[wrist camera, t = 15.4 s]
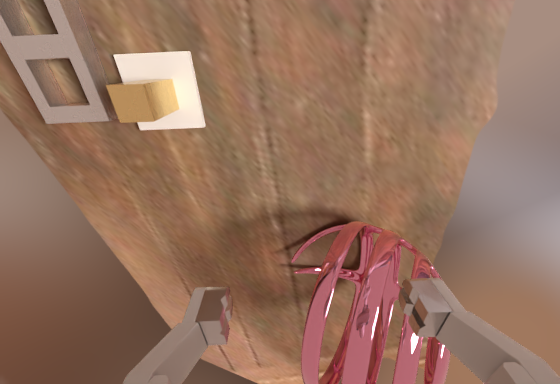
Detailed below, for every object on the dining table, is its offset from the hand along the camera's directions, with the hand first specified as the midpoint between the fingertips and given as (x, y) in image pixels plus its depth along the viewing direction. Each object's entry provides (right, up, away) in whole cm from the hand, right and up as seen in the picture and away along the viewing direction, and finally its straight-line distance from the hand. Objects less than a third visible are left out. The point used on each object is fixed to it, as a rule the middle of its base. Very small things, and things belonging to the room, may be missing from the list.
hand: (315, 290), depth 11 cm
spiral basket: (+13, -8, +39) cm, 42 cm away
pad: (-19, +19, +22) cm, 35 cm away
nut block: (-19, +19, +22) cm, 34 cm away
